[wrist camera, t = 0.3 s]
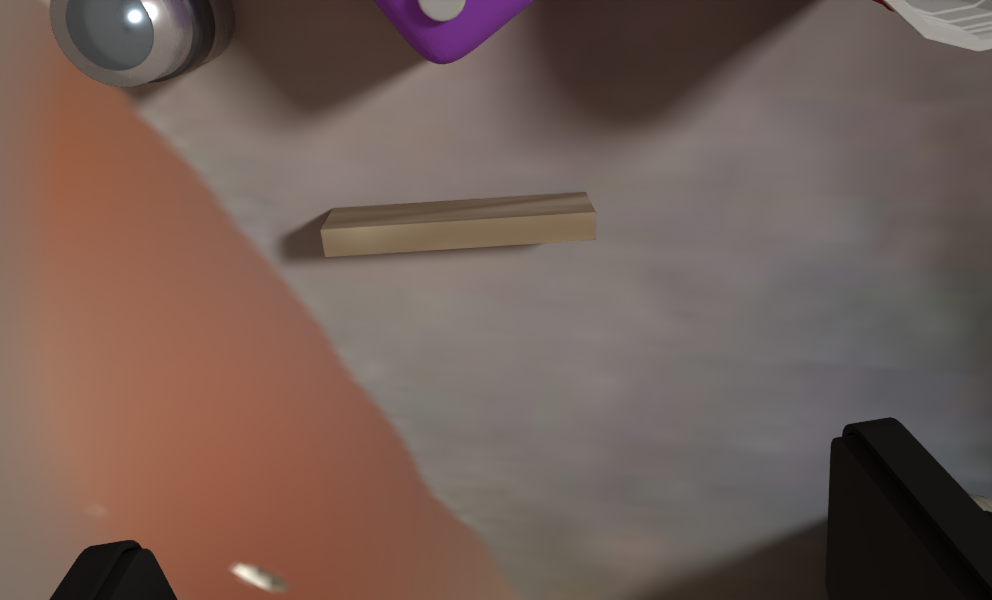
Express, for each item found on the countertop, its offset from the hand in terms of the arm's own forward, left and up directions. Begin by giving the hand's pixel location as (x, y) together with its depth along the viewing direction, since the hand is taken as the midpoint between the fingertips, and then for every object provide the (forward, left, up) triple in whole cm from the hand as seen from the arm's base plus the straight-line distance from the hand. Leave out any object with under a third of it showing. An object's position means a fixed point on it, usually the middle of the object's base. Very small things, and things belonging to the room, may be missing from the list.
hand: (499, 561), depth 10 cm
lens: (-6, -14, -30) cm, 34 cm away
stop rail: (+5, -1, -30) cm, 30 cm away
